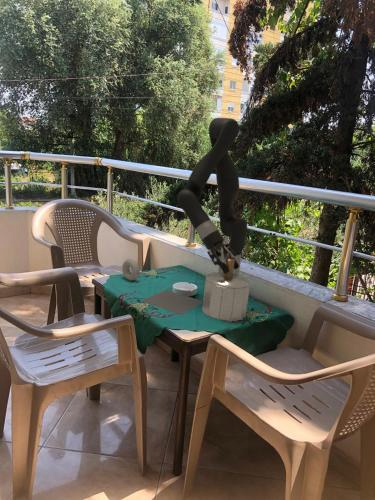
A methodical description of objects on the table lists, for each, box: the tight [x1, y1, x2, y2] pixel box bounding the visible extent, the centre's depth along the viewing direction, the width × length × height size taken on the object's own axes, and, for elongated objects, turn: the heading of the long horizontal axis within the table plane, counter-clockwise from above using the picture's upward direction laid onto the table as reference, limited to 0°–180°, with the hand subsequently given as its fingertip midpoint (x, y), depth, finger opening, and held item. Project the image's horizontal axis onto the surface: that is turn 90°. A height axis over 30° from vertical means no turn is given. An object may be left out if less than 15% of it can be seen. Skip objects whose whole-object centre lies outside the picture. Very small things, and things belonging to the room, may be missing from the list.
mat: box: [140, 289, 203, 315], centre depth 164 cm, size 18×19×1 cm
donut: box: [121, 258, 140, 282], centre depth 184 cm, size 10×4×10 cm, turn 48°
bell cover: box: [201, 258, 251, 323], centre depth 156 cm, size 17×17×22 cm
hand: (232, 270), depth 154 cm, fingers open, 8 cm apart
